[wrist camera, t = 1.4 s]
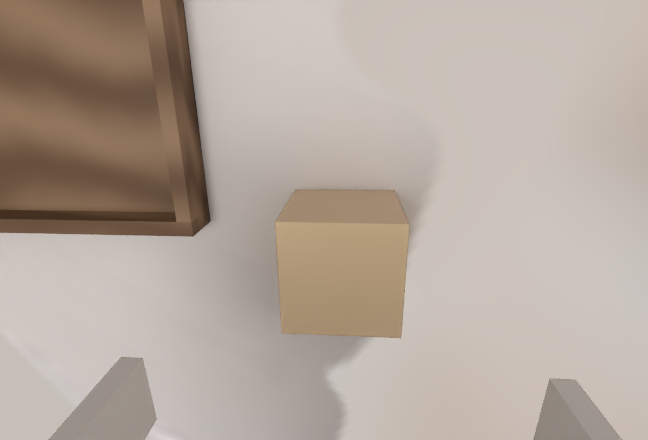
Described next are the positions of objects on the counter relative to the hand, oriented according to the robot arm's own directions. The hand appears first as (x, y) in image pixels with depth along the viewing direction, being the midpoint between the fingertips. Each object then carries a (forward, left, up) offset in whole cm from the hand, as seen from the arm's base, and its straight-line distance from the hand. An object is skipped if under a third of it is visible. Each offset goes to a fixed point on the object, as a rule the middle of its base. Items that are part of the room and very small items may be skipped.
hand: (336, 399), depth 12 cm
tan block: (0, 0, -15) cm, 15 cm away
